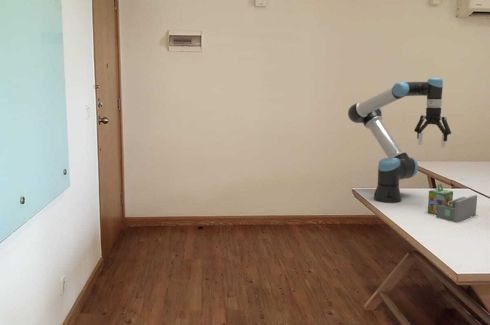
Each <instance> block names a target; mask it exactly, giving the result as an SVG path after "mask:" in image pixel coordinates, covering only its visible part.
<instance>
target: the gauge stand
mask: <svg viewBox="0 0 490 325" xmlns="http://www.w3.org/2000/svg"><path fill="white" fill-rule="evenodd" d="M477 204H478V195H475V194H474V195H470V196H468V197H466V198H464V199H461V200H458V201H455V208H451V207H446V206H442V205H437V214H435V216H436V218H439V219H443V220H447V221H452V222H454V223H458V222H460V221H463V220H466V219H468V218H471V216H472V217H475V216H476V215H477Z"/></svg>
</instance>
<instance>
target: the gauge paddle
mask: <svg viewBox="0 0 490 325" xmlns="http://www.w3.org/2000/svg"><path fill="white" fill-rule="evenodd" d="M464 198H467V197H466V196H460V197H457V198H455V199H454V198H453V200H451V201H449V202H448V205H450V207H451V208H455V201H458V200H461V199H464Z"/></svg>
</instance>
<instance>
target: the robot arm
mask: <svg viewBox="0 0 490 325" xmlns="http://www.w3.org/2000/svg"><path fill="white" fill-rule="evenodd" d="M443 80H444V79H443V78H441V77H439V78H437V77H430V78H427V81H400V82H396V83H394V84H393V86H392V87H391V88H388V89H386V90H384V91H382V92H381V93H378V94H377V95H373V96H372V97H370V98H368V99H365V100H364V101H359V102H357V103H355V104H352V105H351V106H350V107H349V108H348V111H347V115H348V116H347V117H348V118H349V120H350V121H351V122H353V123H355V124H363V126H364V127H365V129H369V130H370V132H371V134H372V136H373V137H375V139H376V141H377V143H378V144H379V146H380V148H381V149H382V150H383V151H384V153H385V155H386V157H385V158H382V159H380V160H379V162H378V166H377V186H376V189H375V191H374V194H373V199H374V201H377V202H381V203H399V202H401V201H402V194H401V190H400V180H406V179H410V178H412V177H415V176H416V174H418V171H419V165H418V160H416V159H415V158H413V157H411V156H409V155H408V154H407V152H405V151H402V149H401V148H400V146H399V145H398V144H397V141H396V140H395V139H394V137H393V135H392V134H391V133H390V131H389V130H388V128H387V127H386V126H385V123H384V122H383V111H382V108H384V107H385V106H388V105H390V104H392V103H394V102H396V101H398V100H401V99H403V98H405V97H415V96H417V97H418V96H419V97H422V96H423V97H426V108H425V114H426V115H424V114H422V115H420V118H419V120H418V121H417V124H416V126H415V127H414V133H415V132H416V133H417V136H416V138H417V142H418V143H417V145H418V146H422V145H423V131H424V130H425V129H426V128H427V126H429V125H435V126H437V128H439V130H440V132H441V134H442V135H441V145H440V146H441V147H440V148H442V149H443V148H446V142H447V141H448V136H449V135H452V130H451V128H450V126H449V124H448V122H447V116H441V114H442V105H443V104H442V103H443V101H442V100H443V87H444V85H443V83H444V81H443ZM424 121H425V122H424Z"/></svg>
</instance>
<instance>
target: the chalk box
mask: <svg viewBox="0 0 490 325" xmlns="http://www.w3.org/2000/svg"><path fill="white" fill-rule="evenodd" d="M451 200H454V191H452V190H447V189H443V185H442V183H440V184H438V185H437V188H434V189H430V190H428V201H427V202H428V205H427V207H428V208H427V213H428V214H433V215H436V214H437V205H442V206H446V207H450V205H448V202H449V201H451Z"/></svg>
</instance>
